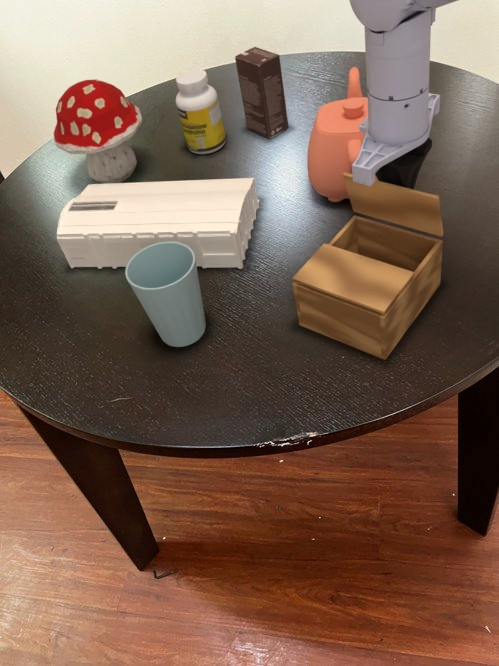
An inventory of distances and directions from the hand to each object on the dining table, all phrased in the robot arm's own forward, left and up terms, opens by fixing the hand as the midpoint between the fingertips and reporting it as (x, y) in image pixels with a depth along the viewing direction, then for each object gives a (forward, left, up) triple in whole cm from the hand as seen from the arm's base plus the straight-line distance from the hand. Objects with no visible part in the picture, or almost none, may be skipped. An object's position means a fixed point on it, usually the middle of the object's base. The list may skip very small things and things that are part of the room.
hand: (398, 204), depth 71 cm
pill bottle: (+24, -36, -10) cm, 44 cm away
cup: (+26, +5, -10) cm, 28 cm away
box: (+14, -38, -10) cm, 41 cm away
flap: (+1, +1, +1) cm, 2 cm away
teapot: (+2, -20, -10) cm, 22 cm away
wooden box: (+4, +5, -10) cm, 12 cm away
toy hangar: (+29, -14, -10) cm, 34 cm away
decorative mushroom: (+39, -32, -10) cm, 51 cm away
